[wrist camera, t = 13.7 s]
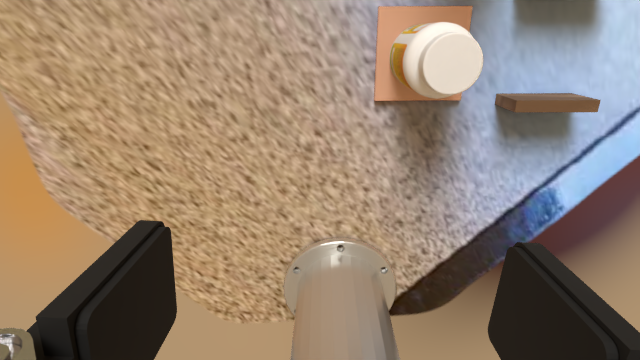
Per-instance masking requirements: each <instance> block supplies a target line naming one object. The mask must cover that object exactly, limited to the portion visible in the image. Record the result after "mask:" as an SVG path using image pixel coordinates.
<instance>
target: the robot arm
mask: <svg viewBox="0 0 640 360" xmlns="http://www.w3.org/2000/svg"><path fill="white" fill-rule="evenodd" d="M339 245H342V246H339ZM395 295H396V280H395V276H394V272H393V270H392V267H391V265H390V263H389V262H388V260H387V259H386V258H385V256H384V255H383V254H382V253H381V252H379V251H378V250H377V249H376V248H374V247H372V246H371V245H369V244H367V243H364V242H362V241H359V240H355V239H350V238H331V239H325V240H322V241H319V242H316V243H314V244H312V245H310V246H308V247H306V248H305V249H304V250H302V251H301V252H300V253H298V255H297V256H296V257H295V258H294V259H293V260H292V262H291V264H290V265H289V267H288V269H287V272H286V276H285V281H284V297H285V300H286V304H287V306H288V307H289V309H290V311H291V313H292V314H293V315H294V316H295V321H294V331H293V341H292V351H291V360H400V358H399V354H398V349H397V345H396V341H395V336H394V333H393V328H392V324H391V320H390V315H389V310H390V308H391V307H392V304H393V302H394V300H395ZM176 313H177V306H176V292H175V279H174V266H173V253H172V239H171V230H170V228H169V227H165V226H164V223H163V222H161V221H144V220H140V221H138V222H137V223H136V224H135V225H134V226H133V227H132V228H131V229H130V230H128V231H127V232H126V233H125V234H124V235H123V236H122V237H121V238H120V239H119V240H118V241H117V242H116V243H114V244H113V245H112V246H111V247H110V248H109V249H108V250H107V251H106V252H105V253H104V254H103V255H102V256H100V257H99V258H98V260H96V261H95V262H94V263H93V264H92V265H91V266H90V267H89V268H88V269H87V270H85V271H84V272H83V273H82V274H81V275H80V276H79V277H78V278H77V279H76V280H75V281H74V282H73V283H72V284H70V285H69V286H68V287H67V288H66V289H65V290H64V291H63V292H62V293H61V294H60V295H59V296H57V298H55V299H54V300H53V301H52V302H51V303H50V304H49V305H48V306H47V307H46V308H45V309H44V310H42V311H41V312H40V313H39V314H38V315H37V316H36V320H37V322H35V323H34V324H33V325H32V326H31V327H30V328H29V329H28V330H27V331H25V330H23V329H16V328H4V329H0V360H154V358H155V357H156V354H157V353H158V351H159V349H160V347H161V345H162V344H163V342H164V340H165V338H166V336H167V335H168V333H169V331H170V329H171V327H172V325H173V323H174V321H175V318H176ZM488 334H489V338H490V341H491V343H492V344H493V346H494V348H495V350H496V351H497V353H498V355H499V357H500V359H501V360H640V333H639V332H638V331H637V330H636V329H635V328H634V327H633V326H632V325H631V324H629V323H628V322H627V321H626V320H625V319H624V318H623V317H622V316H621V315H619V314H618V313H617V312H616V311H615V310H614V309H613V308H612V307H610V306H609V305H608V304H607V303H606V302H605V301H604V300H603V299H602V298H601V297H599V296H598V295H597V294H596V293H595V292H594V291H593V290H592V289H591V288H589V287H588V286H587V285H586V284H585V283H584V282H583V281H582V280H580V279H579V278H578V277H577V276H576V275H575V274H574V273H573V272H572V271H570V270H569V269H568V268H567V267H566V266H565V265H564V264H563V263H561V262H560V261H559V260H558V259H557V258H556V257H555V256H554V255H553V254H552V253H550V252H549V251H548V250H547V249H546V248H545V247H544V246H543V245H541V244H539V243H538V244H537V243H522V242H517V243H516V244H515V245H514V246H513V247H510V248H509V249H508V250H507V253H506V257H505V261H504V265H503V269H502V273H501V278H500V281H499V285H498V289H497V293H496V297H495V301H494V306H493V309H492V313H491V317H490V321H489V326H488Z"/></svg>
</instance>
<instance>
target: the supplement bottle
mask: <svg viewBox="0 0 640 360" xmlns="http://www.w3.org/2000/svg"><path fill="white" fill-rule="evenodd" d="M482 66H483V53H482V50H481V47H480V46H479V44H478V43H477V41H476V40H475V39H474V38H473V37H472V35H471V34H470V33H469V32H468V31H467V30H466V29H465V28H463V27H461V26H459V25H457V24H454V23H449V22H437V23H428V24H419V25H415V26H412V27H409V28H407V29H406V30H404V31H403V32H402V33H401V34H400V35H399V36H398V37H397V38H396V40H395V41H394V43H393V45H392V48H391V51H390V67H391V70H392V72H393V74H394V76H395V77H396V78H397V79H398V80H399V81H400V82H401V83H402V84H403V85H405V86H407V87H408V88H410V89H412V90H413V91H415V92H417V93H418V94H420V95H422V96H425V97H428V98H435V99H439V98H446V97H449V96H452V95H454V94H458V93H461V92H463V91H465V90H467V89H468V88H469V87H471V86H472V85H473V84H474V83H475V81H476V80H477V79H478V77H479V75H480V73H481V70H482Z"/></svg>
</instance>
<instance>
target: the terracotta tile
mask: <svg viewBox="0 0 640 360" xmlns="http://www.w3.org/2000/svg"><path fill="white" fill-rule="evenodd" d="M472 7H473V6H395V7H378V21H377V43H376V66H375V88H374V100H375V101H403V100H461V94H462V92H461V93H458V94H454V95H452V96H449V97H446V98H439V99H435V98H428V97H425V96H422V95H420V94H418V93H417V92H415V91H413V90H412V89H410V88H408V87H407V86H405V85H403V84H402V83H401V82H400V81H399V80H398V79H397V78H396V77H395V76H394V74H393V72H392V70H391V67H390V51H391V48H392V45H393V43H394V41H395V40H396V38H397V37H398V36H399V35H400V34H401V33H402V32H403V31H404V30H406V29H407V28H409V27H412V26H415V25H419V24H428V23H437V22H449V23H454V24H457V25H459V26H461V27H463V28H465V29H466V30H467V31H468V32H469V31H470V23H471V15H472Z"/></svg>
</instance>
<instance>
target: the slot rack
mask: <svg viewBox="0 0 640 360" xmlns="http://www.w3.org/2000/svg"><path fill="white" fill-rule="evenodd" d="M599 104H600V100H598V99H593V98H589V97H585V96H580V95H576V94H572V93H542V94H496V101H495V105H498V106H500V107H503V108H505V109H508V110H510V111H513V112H598V108H599Z"/></svg>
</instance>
